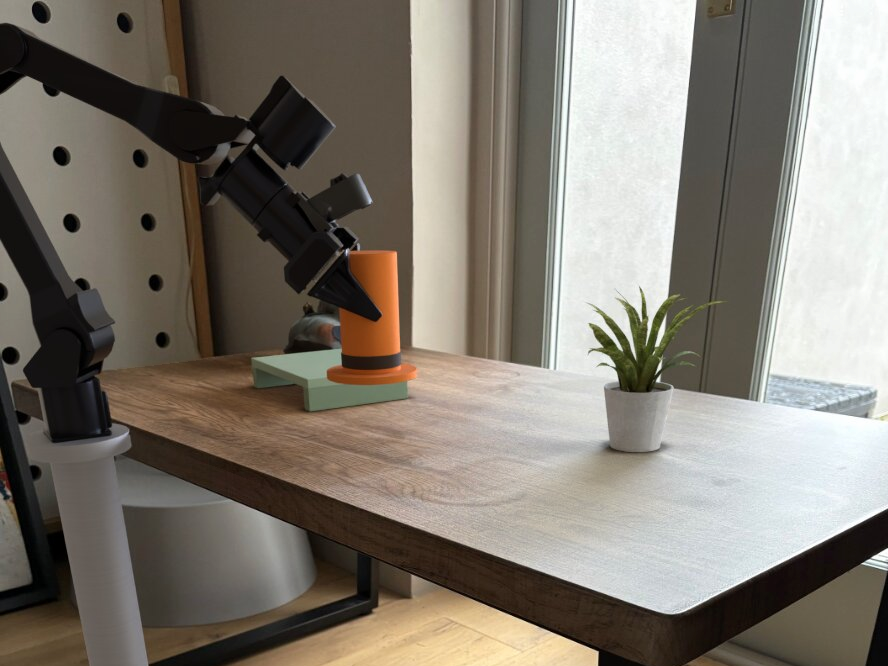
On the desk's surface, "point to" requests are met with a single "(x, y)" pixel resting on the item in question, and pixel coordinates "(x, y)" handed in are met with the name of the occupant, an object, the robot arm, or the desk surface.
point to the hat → (373, 327)
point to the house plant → (639, 376)
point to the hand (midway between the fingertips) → (382, 314)
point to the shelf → (320, 380)
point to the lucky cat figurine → (315, 330)
